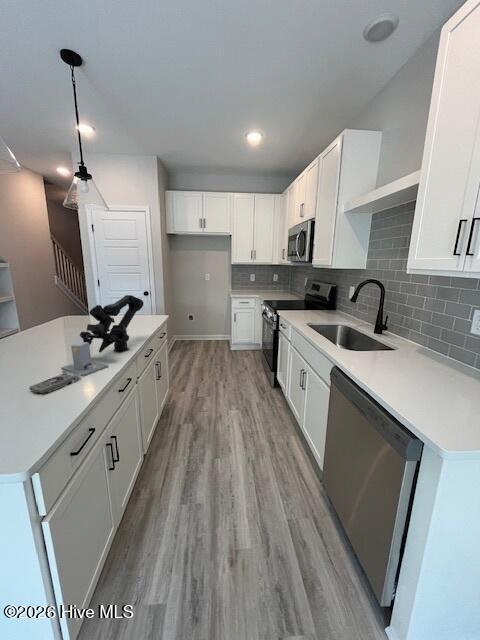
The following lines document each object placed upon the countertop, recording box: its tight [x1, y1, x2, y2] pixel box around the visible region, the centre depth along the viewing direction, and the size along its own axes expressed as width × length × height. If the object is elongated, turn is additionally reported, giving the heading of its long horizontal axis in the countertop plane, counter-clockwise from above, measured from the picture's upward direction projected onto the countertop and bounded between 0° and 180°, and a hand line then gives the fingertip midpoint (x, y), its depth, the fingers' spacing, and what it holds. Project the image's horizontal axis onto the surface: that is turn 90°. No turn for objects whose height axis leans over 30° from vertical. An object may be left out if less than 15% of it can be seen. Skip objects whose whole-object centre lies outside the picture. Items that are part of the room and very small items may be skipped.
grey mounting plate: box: [60, 359, 109, 378], centre depth 131 cm, size 13×18×2 cm
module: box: [70, 341, 92, 371], centre depth 127 cm, size 6×5×12 cm
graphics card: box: [29, 370, 83, 394], centre depth 113 cm, size 17×4×12 cm
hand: (91, 351), depth 134 cm, fingers open, 9 cm apart
